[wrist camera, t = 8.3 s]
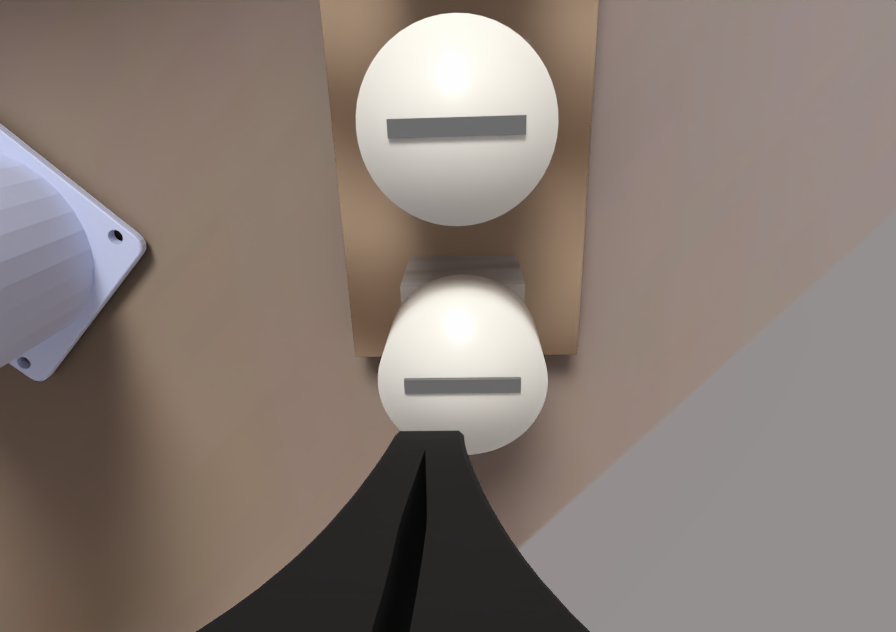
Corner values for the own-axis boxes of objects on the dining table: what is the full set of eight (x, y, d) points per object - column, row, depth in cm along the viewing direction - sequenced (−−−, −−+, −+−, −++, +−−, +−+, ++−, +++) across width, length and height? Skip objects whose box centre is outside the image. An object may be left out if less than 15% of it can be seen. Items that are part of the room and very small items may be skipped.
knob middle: (392, 187, 18) (363, 229, 13) (382, 34, 17) (345, 15, 12) (531, 184, 18) (554, 225, 13) (535, 29, 17) (564, 8, 12)
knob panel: (311, -202, 16) (256, -299, 12) (601, -218, 16) (647, -322, 12) (362, 339, 22) (338, 399, 18) (570, 337, 22) (593, 397, 18)
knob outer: (404, 365, 21) (383, 458, 16) (396, 247, 19) (370, 308, 14) (527, 363, 21) (545, 457, 16) (529, 244, 19) (551, 305, 14)
